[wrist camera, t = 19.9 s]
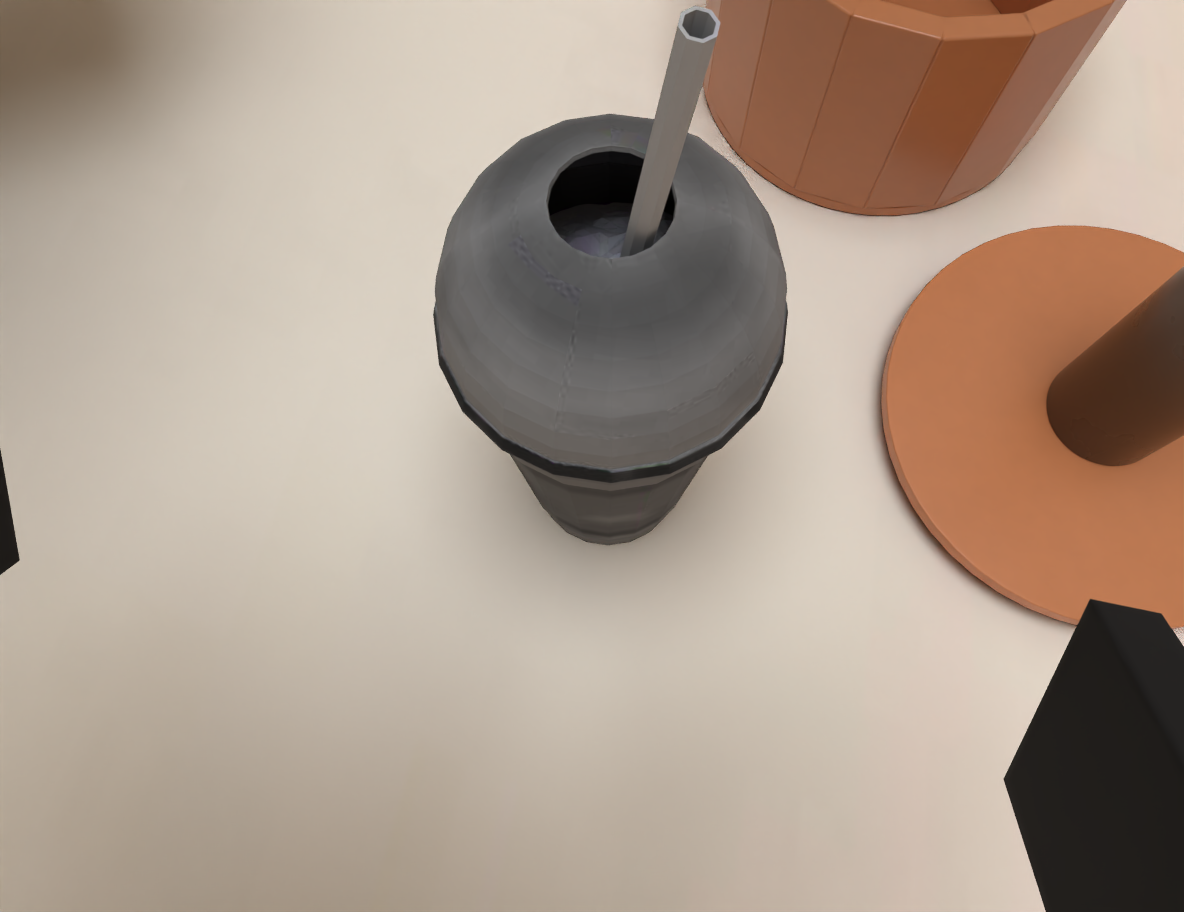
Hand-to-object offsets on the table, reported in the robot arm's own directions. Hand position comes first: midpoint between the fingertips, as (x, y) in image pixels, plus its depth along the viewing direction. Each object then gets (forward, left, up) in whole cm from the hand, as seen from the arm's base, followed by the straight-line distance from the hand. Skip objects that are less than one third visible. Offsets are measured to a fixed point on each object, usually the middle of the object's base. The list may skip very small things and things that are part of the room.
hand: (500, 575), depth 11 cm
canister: (-13, +22, -17) cm, 31 cm away
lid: (+2, +19, -17) cm, 25 cm away
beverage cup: (-5, +5, -18) cm, 19 cm away
